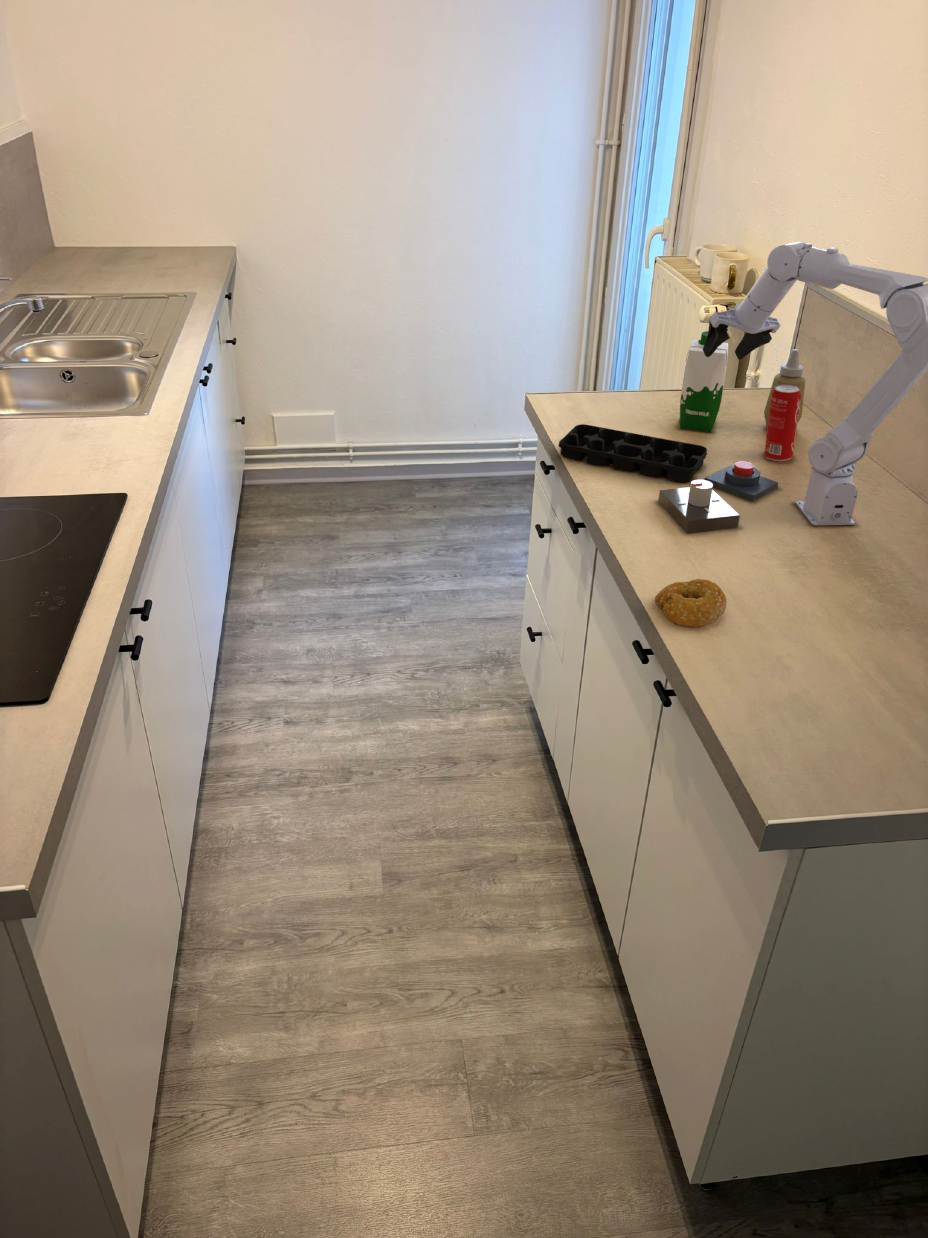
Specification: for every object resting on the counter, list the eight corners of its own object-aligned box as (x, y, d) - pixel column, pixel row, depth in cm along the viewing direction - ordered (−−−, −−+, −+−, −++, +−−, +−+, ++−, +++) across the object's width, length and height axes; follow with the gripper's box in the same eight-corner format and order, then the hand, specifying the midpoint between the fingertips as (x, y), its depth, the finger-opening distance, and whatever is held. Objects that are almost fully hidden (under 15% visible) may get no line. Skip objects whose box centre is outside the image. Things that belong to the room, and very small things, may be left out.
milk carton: (718, 420, 219) (732, 332, 208) (715, 435, 212) (729, 344, 201) (679, 416, 221) (691, 328, 210) (674, 430, 214) (687, 340, 203)
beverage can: (793, 463, 199) (808, 393, 191) (760, 461, 200) (774, 391, 192) (790, 452, 204) (805, 384, 196) (759, 450, 205) (772, 381, 197)
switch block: (777, 488, 189) (780, 473, 187) (752, 502, 184) (755, 486, 182) (729, 471, 196) (731, 456, 194) (703, 483, 190) (706, 469, 189)
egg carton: (703, 487, 189) (705, 469, 187) (552, 470, 195) (553, 452, 193) (706, 453, 203) (709, 436, 201) (565, 437, 209) (567, 421, 207)
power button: (755, 473, 188) (757, 465, 187) (745, 478, 186) (747, 470, 185) (739, 467, 190) (741, 459, 189) (729, 472, 188) (731, 464, 187)
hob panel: (737, 528, 175) (740, 514, 173) (686, 533, 173) (689, 519, 171) (706, 497, 185) (708, 484, 184) (657, 502, 183) (659, 489, 182)
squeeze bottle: (753, 425, 217) (768, 346, 207) (781, 420, 220) (797, 342, 210) (777, 438, 211) (793, 357, 201) (806, 433, 214) (823, 352, 204)
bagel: (672, 588, 157) (676, 562, 154) (735, 611, 151) (740, 585, 148) (641, 613, 150) (644, 586, 147) (705, 638, 144) (710, 611, 142)
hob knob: (704, 496, 180) (707, 477, 177) (713, 505, 176) (717, 486, 174) (684, 498, 179) (687, 479, 177) (693, 507, 175) (696, 488, 173)
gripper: (784, 288, 181) (744, 341, 192) (721, 281, 175) (684, 336, 186) (799, 315, 178) (757, 368, 188) (735, 309, 172) (696, 363, 183)
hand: (721, 354), depth 187 cm, fingers open, 7 cm apart
